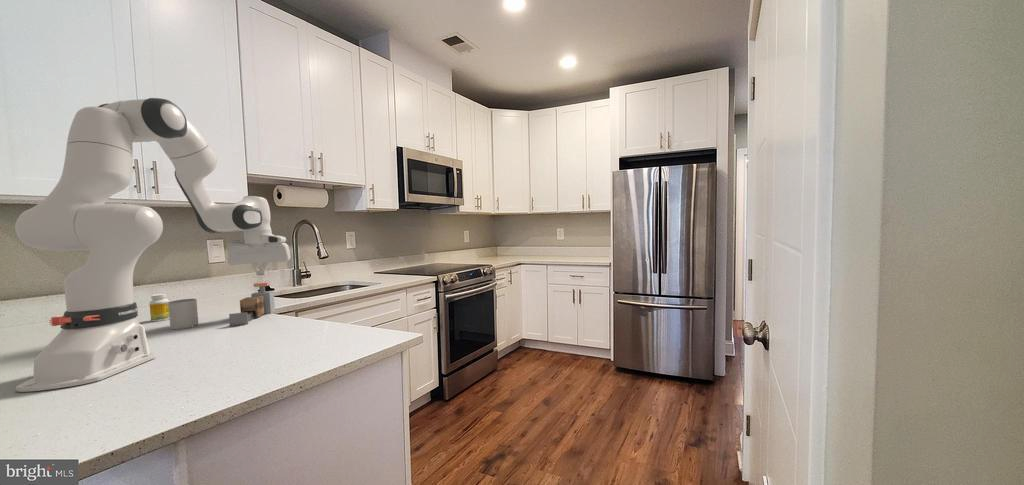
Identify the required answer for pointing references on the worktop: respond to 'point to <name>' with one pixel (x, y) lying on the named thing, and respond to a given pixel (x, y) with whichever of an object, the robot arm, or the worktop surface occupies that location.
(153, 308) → the supplement bottle
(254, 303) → the carriage
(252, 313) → the rail
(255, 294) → the gauge cabinet
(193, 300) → the cup
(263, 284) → the plunger
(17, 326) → the worktop surface
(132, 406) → the worktop surface
